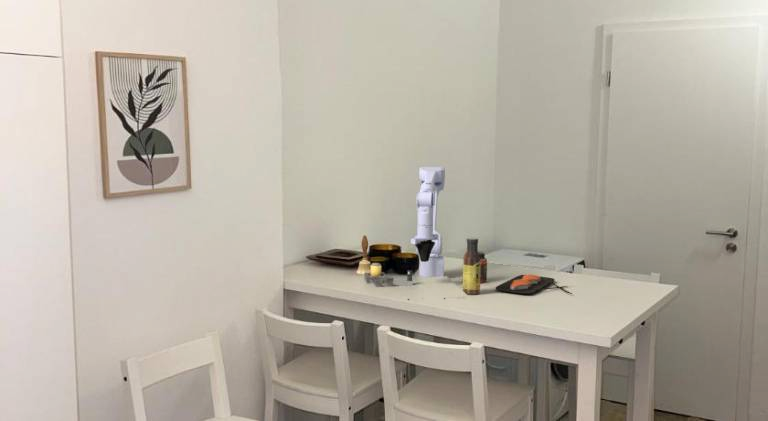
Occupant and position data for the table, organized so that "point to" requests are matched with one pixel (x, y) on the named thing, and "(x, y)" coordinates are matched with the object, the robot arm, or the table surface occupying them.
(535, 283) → the sushi plate
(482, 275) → the supplement bottle
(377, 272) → the yellow cylinder
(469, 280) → the sauce bottle
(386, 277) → the dock
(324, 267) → the table surface
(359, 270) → the hand bell
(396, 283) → the lock pin
